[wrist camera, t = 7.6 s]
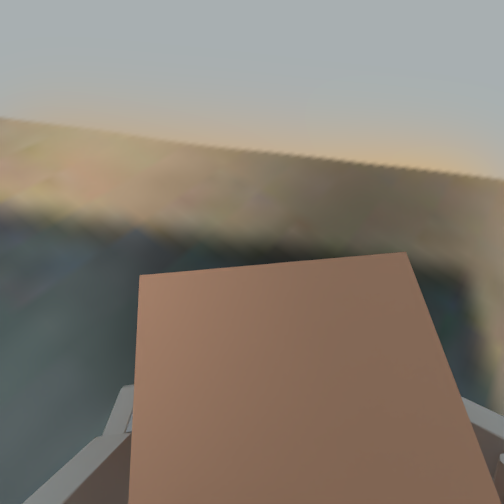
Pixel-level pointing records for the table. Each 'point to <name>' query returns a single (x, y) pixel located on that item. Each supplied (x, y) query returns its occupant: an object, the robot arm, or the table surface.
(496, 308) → the table surface
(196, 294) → the block
